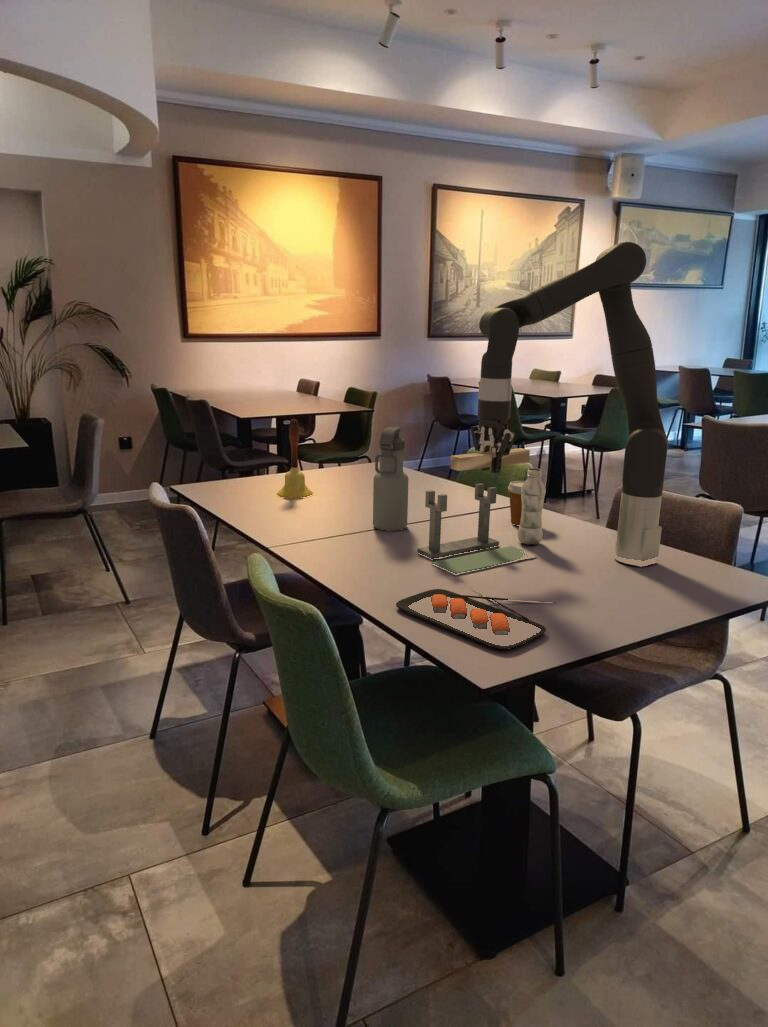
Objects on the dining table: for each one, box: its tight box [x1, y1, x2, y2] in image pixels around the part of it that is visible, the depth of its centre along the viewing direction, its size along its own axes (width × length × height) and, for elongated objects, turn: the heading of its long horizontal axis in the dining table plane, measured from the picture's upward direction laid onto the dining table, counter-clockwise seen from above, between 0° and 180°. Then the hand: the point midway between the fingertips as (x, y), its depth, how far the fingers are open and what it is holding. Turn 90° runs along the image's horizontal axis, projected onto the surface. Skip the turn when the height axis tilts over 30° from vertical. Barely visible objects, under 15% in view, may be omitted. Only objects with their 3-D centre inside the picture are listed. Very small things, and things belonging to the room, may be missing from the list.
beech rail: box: [450, 447, 531, 472], centre depth 169 cm, size 3×22×3 cm, turn 124°
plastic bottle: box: [517, 467, 547, 545], centre depth 188 cm, size 6×7×20 cm
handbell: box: [276, 418, 314, 499], centre depth 237 cm, size 12×12×25 cm
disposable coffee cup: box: [507, 480, 526, 525], centre depth 208 cm, size 10×10×12 cm
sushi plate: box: [395, 588, 547, 650], centre depth 145 cm, size 29×30×4 cm
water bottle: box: [372, 426, 409, 531], centre depth 200 cm, size 10×10×28 cm
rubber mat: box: [431, 545, 528, 574], centre depth 176 cm, size 9×26×1 cm, turn 124°
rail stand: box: [416, 482, 500, 559], centre depth 182 cm, size 6×22×16 cm, turn 124°
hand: (490, 471), depth 170 cm, fingers closed on beech rail, 3 cm apart
